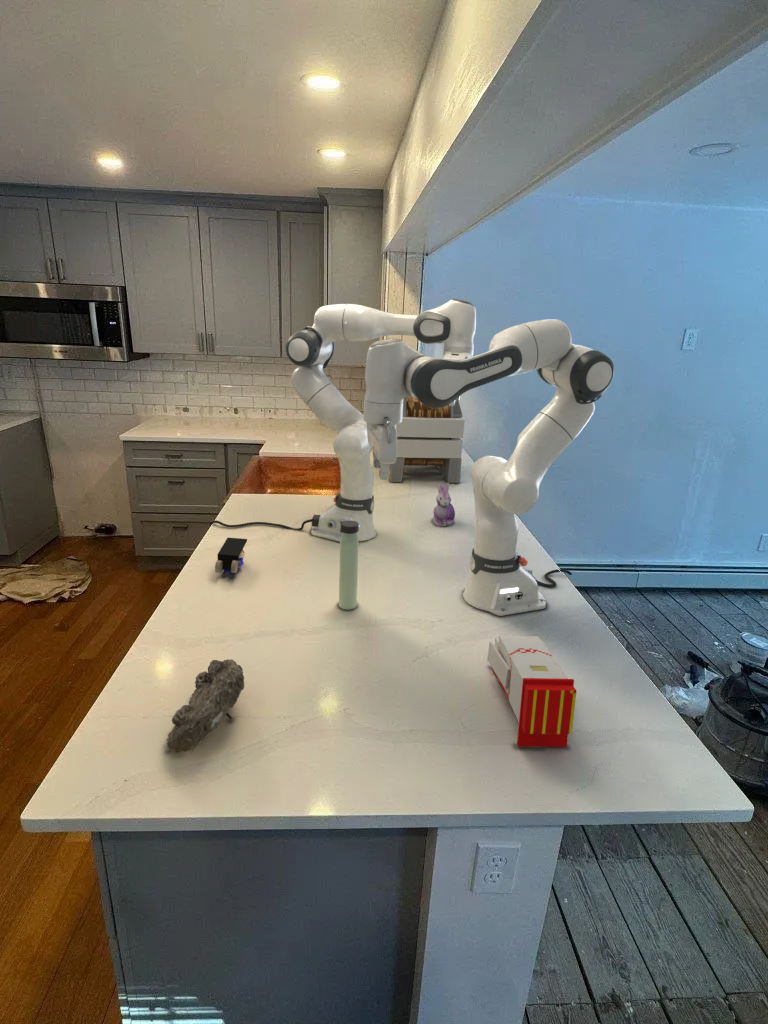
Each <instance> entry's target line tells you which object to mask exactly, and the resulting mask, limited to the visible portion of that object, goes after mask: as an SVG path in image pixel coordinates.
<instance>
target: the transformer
mask: <svg viewBox="0 0 768 1024" xmlns="http://www.w3.org/2000/svg"><path fill="white" fill-rule="evenodd" d="M464 429H465V419H464V418H463V411H462V408H461V405H460V401H458V402H455V405H454V406H449V405H447V406H445V407H442V408H431V407H428V406H426V405H424V404H423V403H421V402H420V401H419V400H417V399H415V398H413V397H412V396H406V397H404V400H403V416H402V423H400V424H396V431H397V459H396V462H395V464H390V468H389V474H388V479H389V480H390V482H391V483H402V482H403V475H404V469H405V466H406V467H407V466H411V467H412V466H413V467H415V466H416V467H417V466H418V467H436V468H437V470H438V469H439V473H440V474H441V475H443V478H444V479H445V481H446V482H447V483H449V484H455V483H456V484H459V483H461V472H462V461H463V460H462V453H463V442H464V441H463V440H462V439H463V438H464V431H465V430H464Z"/></svg>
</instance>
